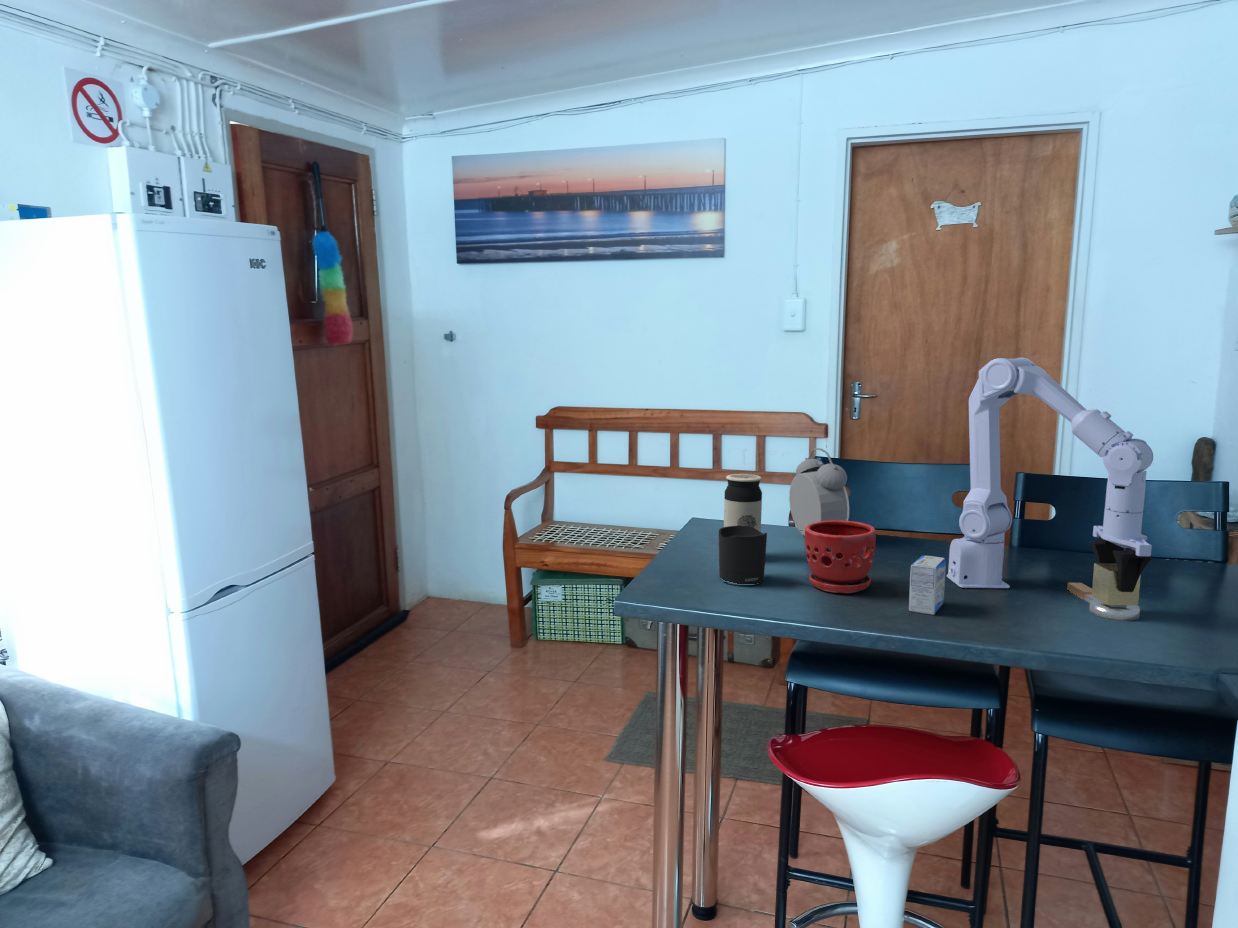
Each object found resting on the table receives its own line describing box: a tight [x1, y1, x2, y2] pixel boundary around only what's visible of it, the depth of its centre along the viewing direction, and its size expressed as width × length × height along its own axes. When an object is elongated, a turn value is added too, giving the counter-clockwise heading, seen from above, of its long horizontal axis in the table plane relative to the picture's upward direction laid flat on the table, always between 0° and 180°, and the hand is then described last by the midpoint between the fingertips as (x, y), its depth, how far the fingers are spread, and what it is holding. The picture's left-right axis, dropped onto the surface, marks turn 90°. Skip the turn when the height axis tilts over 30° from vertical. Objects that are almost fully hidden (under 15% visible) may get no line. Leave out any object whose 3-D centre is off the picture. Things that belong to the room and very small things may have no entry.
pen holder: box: [718, 526, 768, 584], centre depth 168 cm, size 9×9×10 cm
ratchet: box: [1066, 582, 1141, 622], centre depth 155 cm, size 18×8×5 cm, turn 179°
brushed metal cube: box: [1091, 562, 1142, 606], centre depth 149 cm, size 5×5×6 cm
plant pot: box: [804, 520, 877, 595], centre depth 164 cm, size 13×13×12 cm
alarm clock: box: [788, 447, 850, 537], centre depth 202 cm, size 16×9×22 cm, turn 17°
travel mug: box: [723, 473, 763, 533], centre depth 185 cm, size 8×8×18 cm
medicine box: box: [908, 555, 947, 616], centre depth 152 cm, size 8×4×9 cm, turn 148°
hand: (1116, 586), depth 149 cm, fingers open, 5 cm apart
